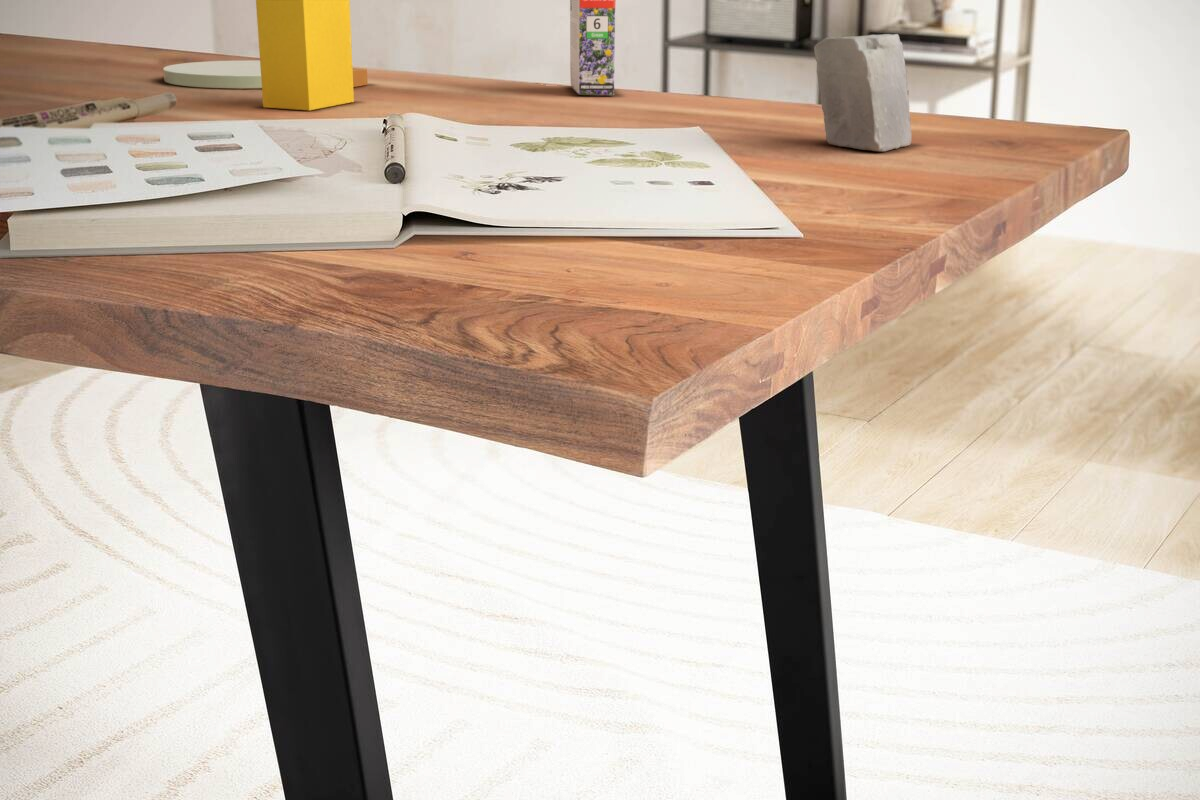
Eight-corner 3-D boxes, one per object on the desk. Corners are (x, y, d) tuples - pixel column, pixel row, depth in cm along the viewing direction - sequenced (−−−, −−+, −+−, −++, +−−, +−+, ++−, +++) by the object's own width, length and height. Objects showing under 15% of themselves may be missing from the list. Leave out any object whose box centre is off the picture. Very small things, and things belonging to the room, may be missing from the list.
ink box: (605, 87, 126) (608, -71, 121) (616, 96, 118) (619, -72, 114) (568, 87, 125) (569, -72, 120) (576, 96, 118) (578, -73, 113)
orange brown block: (318, 86, 121) (317, 70, 121) (340, 83, 125) (340, 67, 124) (346, 88, 120) (345, 72, 120) (367, 84, 124) (367, 68, 123)
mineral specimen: (924, 129, 95) (933, 21, 91) (890, 170, 89) (898, 55, 85) (829, 118, 98) (834, 13, 94) (789, 157, 92) (792, 46, 88)
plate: (131, 84, 120) (130, 71, 119) (212, 70, 135) (211, 58, 134) (292, 91, 117) (291, 78, 117) (355, 75, 132) (355, 63, 132)
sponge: (262, 107, 106) (253, -33, 102) (309, 99, 112) (302, -34, 108) (309, 110, 104) (301, -32, 101) (354, 102, 110) (348, -32, 107)
